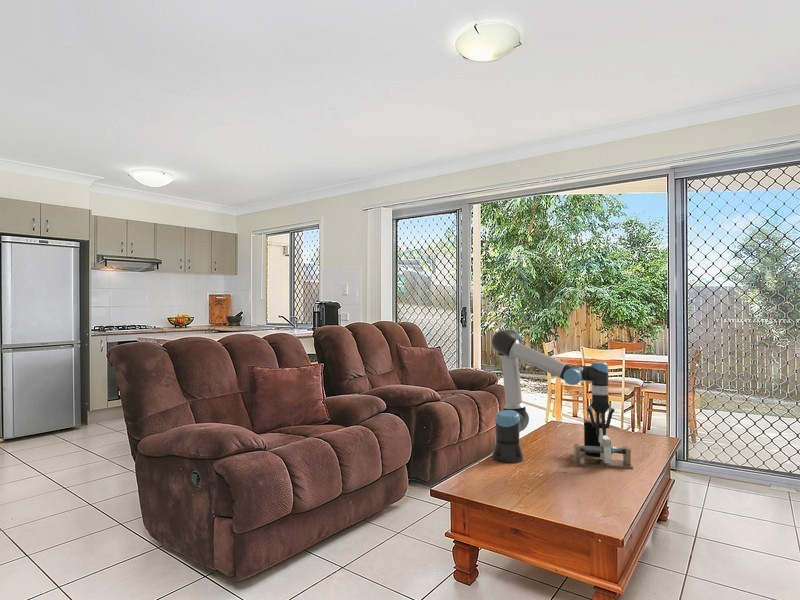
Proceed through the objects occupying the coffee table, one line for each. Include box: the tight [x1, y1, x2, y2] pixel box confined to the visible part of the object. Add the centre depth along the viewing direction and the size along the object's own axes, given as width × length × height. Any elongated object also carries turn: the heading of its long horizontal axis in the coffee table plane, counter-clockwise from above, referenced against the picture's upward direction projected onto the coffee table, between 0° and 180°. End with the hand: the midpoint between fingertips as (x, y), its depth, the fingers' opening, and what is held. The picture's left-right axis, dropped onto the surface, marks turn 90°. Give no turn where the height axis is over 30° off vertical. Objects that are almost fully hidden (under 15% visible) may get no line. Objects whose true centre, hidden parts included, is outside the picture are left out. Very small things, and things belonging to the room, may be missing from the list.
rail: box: [572, 443, 634, 470], centre depth 248 cm, size 26×10×9 cm, turn 79°
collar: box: [599, 434, 612, 463], centre depth 248 cm, size 3×10×11 cm, turn 169°
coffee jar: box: [583, 416, 607, 458], centre depth 265 cm, size 11×11×18 cm
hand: (600, 442), depth 248 cm, fingers closed
